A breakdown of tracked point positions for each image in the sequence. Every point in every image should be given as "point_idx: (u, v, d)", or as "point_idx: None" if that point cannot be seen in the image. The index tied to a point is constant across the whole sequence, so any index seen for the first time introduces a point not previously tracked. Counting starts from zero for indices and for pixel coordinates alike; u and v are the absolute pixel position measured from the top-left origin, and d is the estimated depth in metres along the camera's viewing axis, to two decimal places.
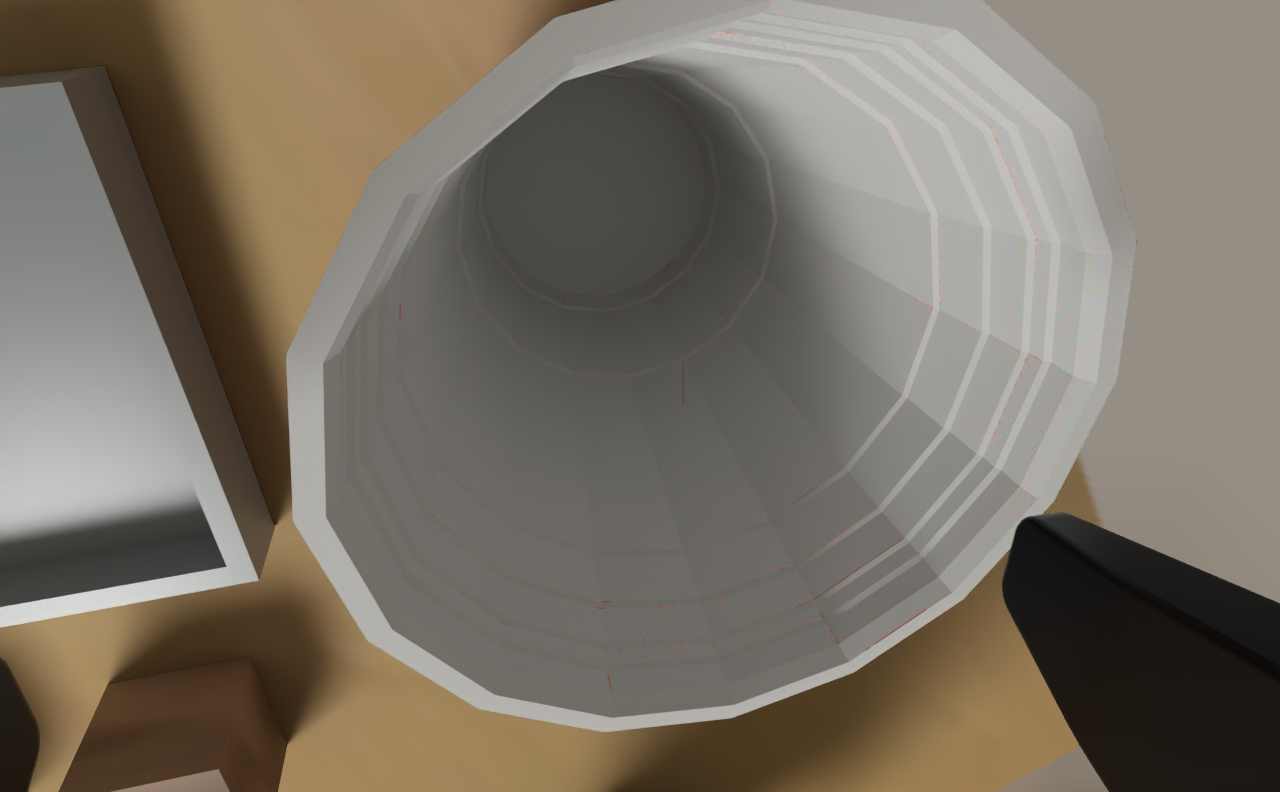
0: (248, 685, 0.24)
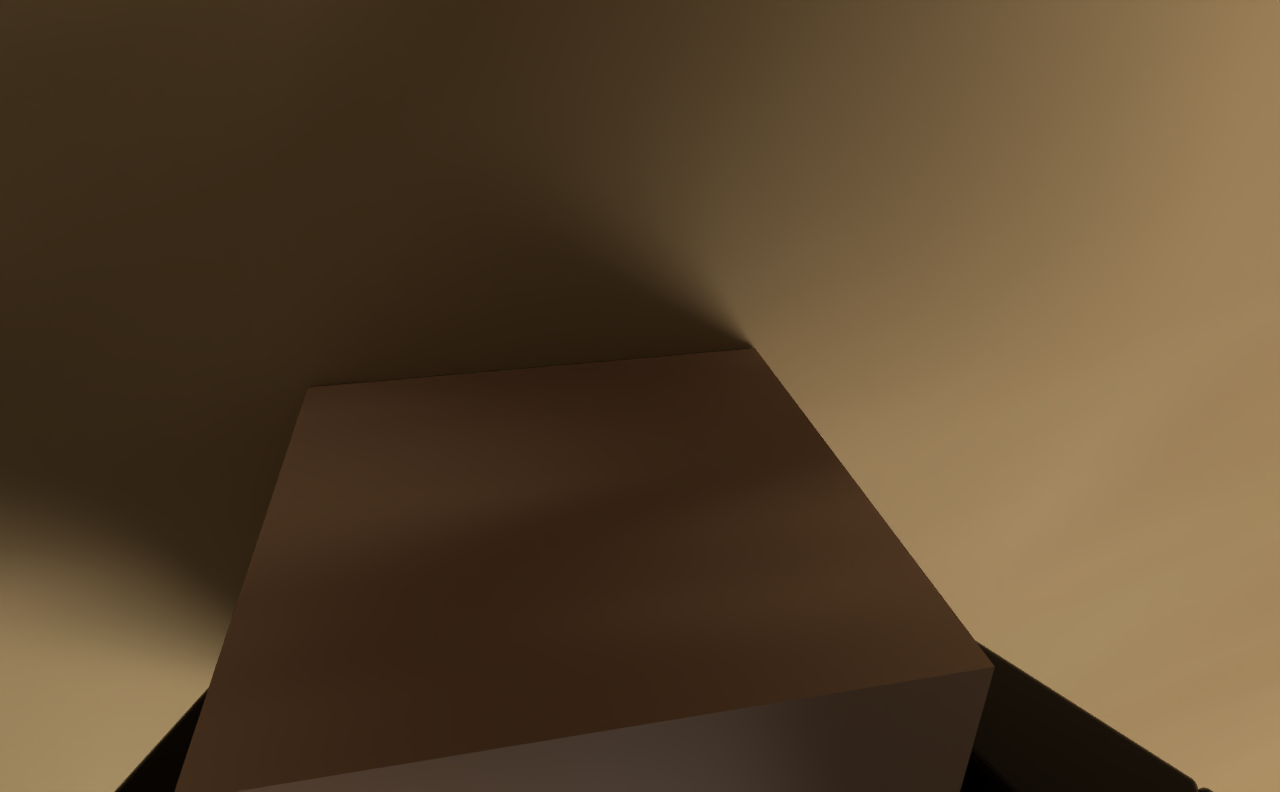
0: (343, 433, 0.06)
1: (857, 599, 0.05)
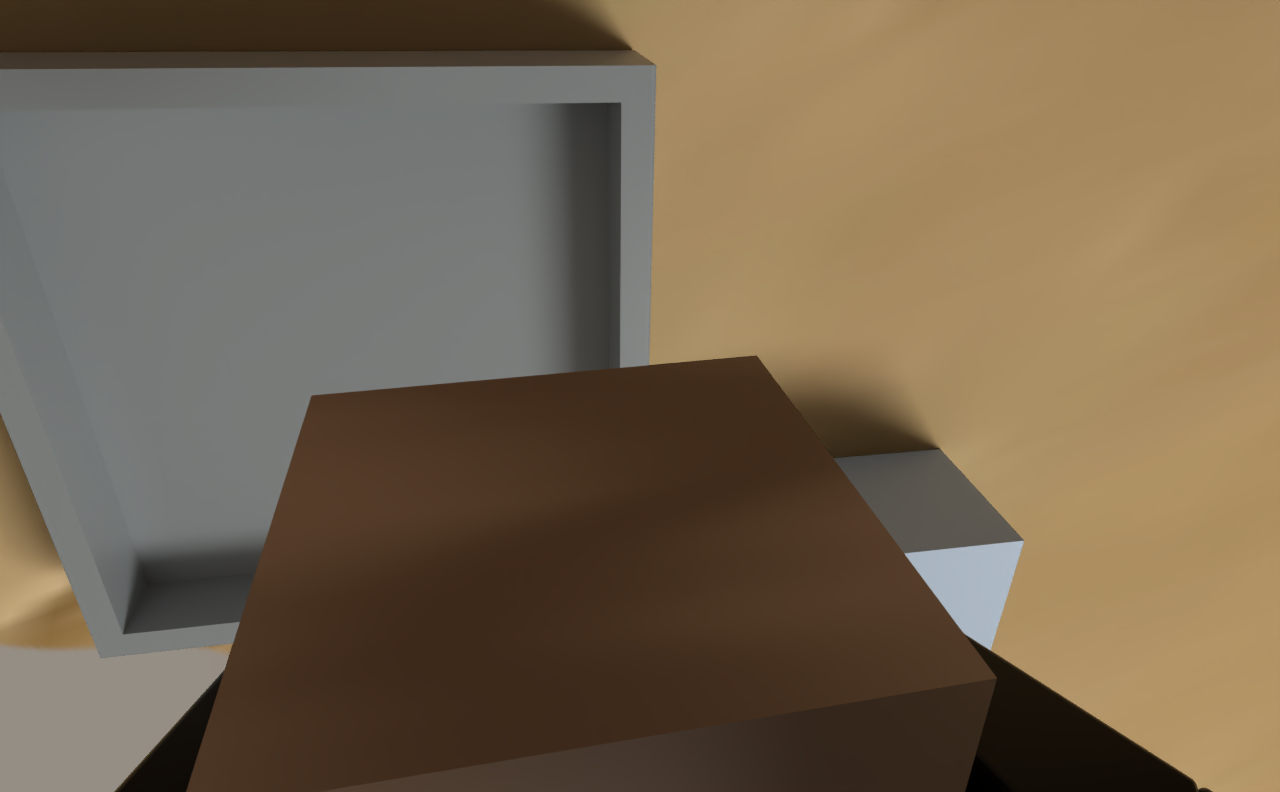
0: (347, 442, 0.06)
1: (860, 609, 0.05)
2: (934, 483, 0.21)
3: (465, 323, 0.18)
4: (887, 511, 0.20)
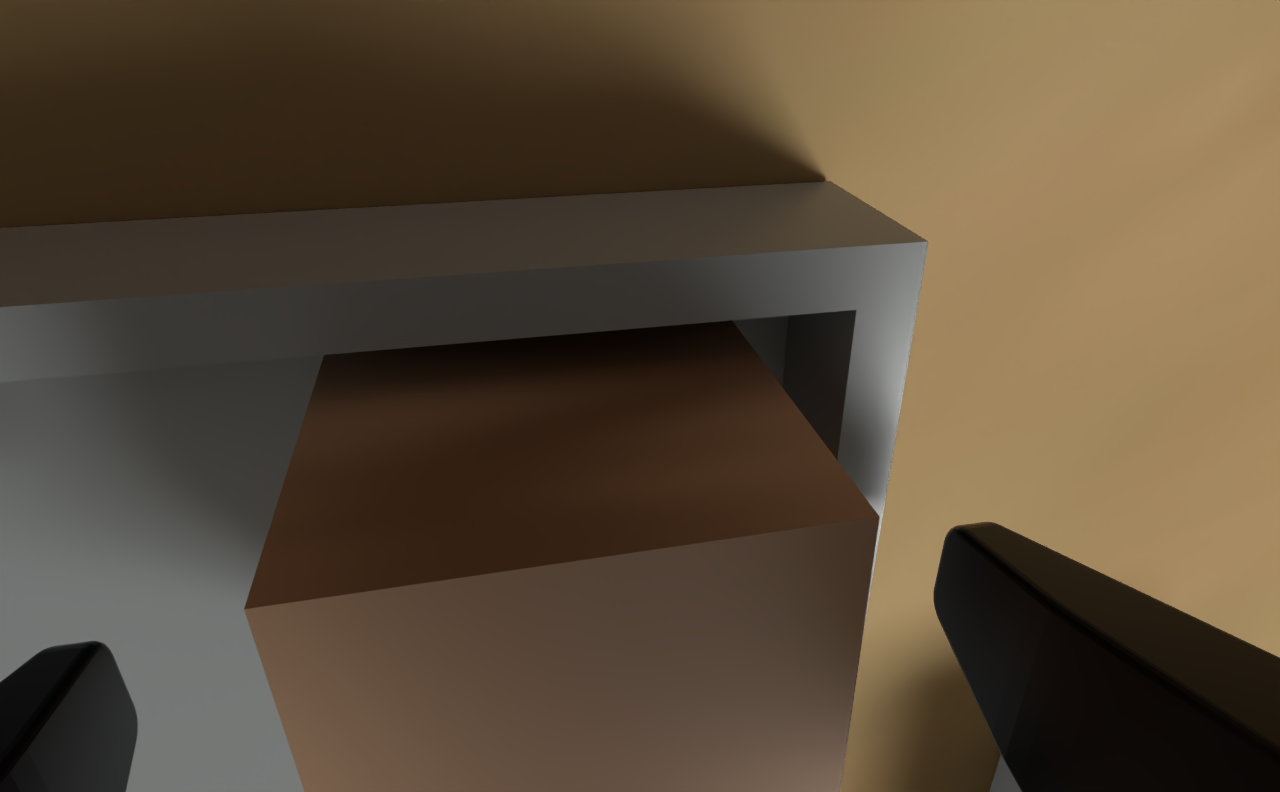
0: (361, 368, 0.08)
1: (778, 474, 0.06)
2: None
3: None
4: None
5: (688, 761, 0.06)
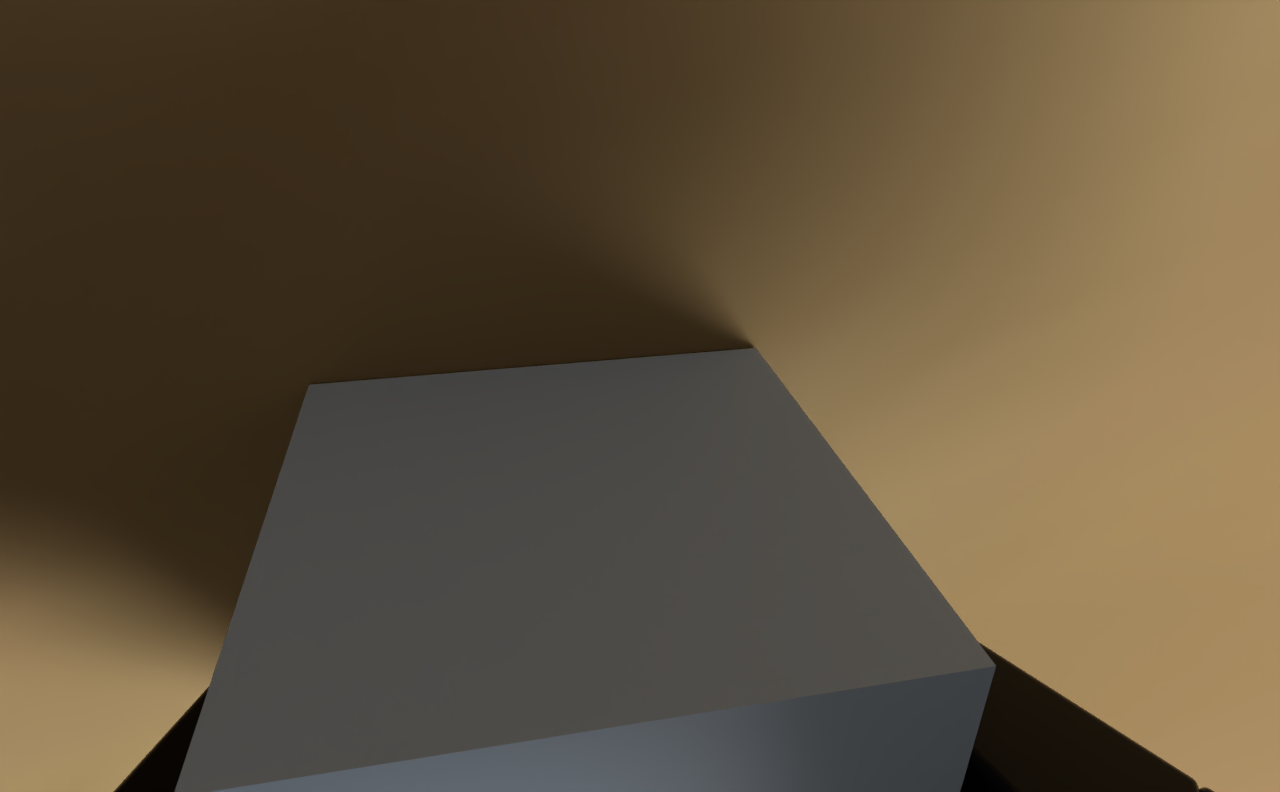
0: None
1: None
2: (700, 444, 0.06)
3: None
4: (476, 546, 0.05)
5: None
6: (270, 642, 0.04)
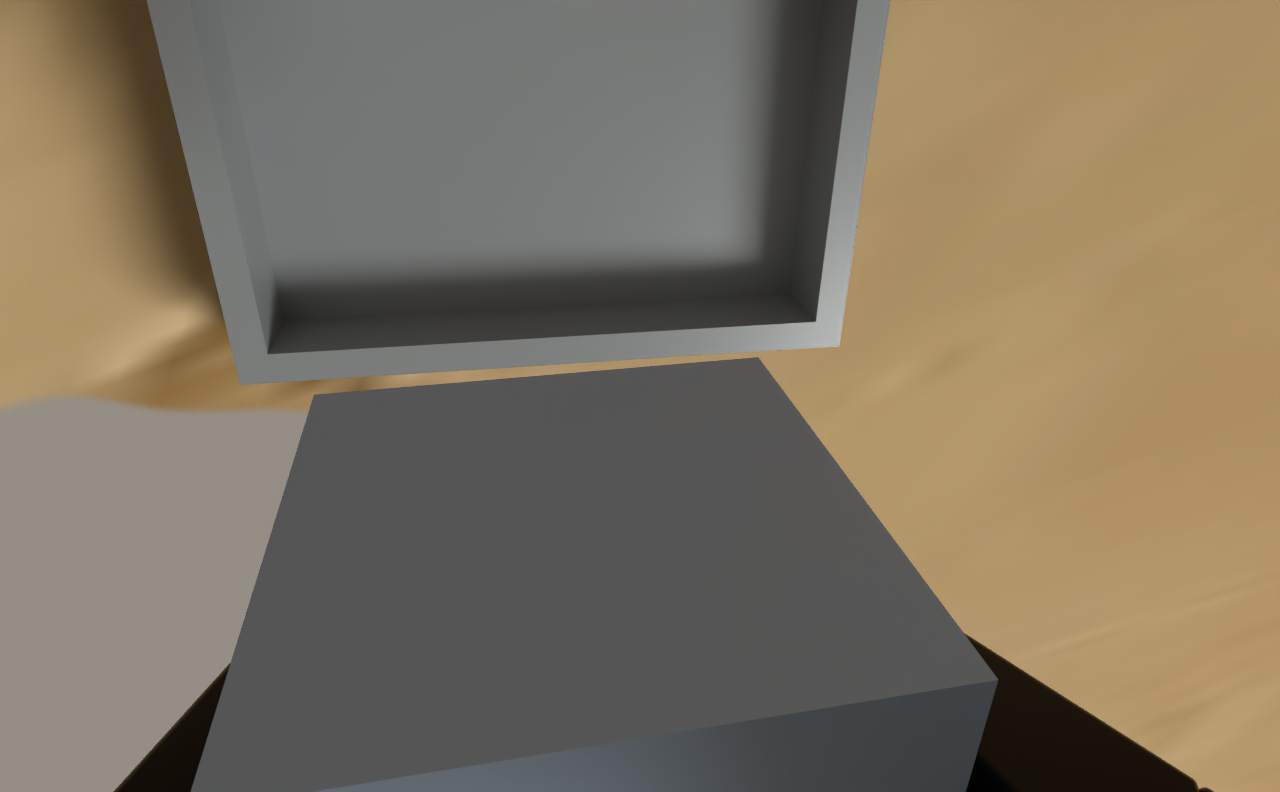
0: None
1: None
2: (705, 455, 0.06)
3: None
4: (481, 559, 0.05)
5: None
6: (280, 654, 0.05)
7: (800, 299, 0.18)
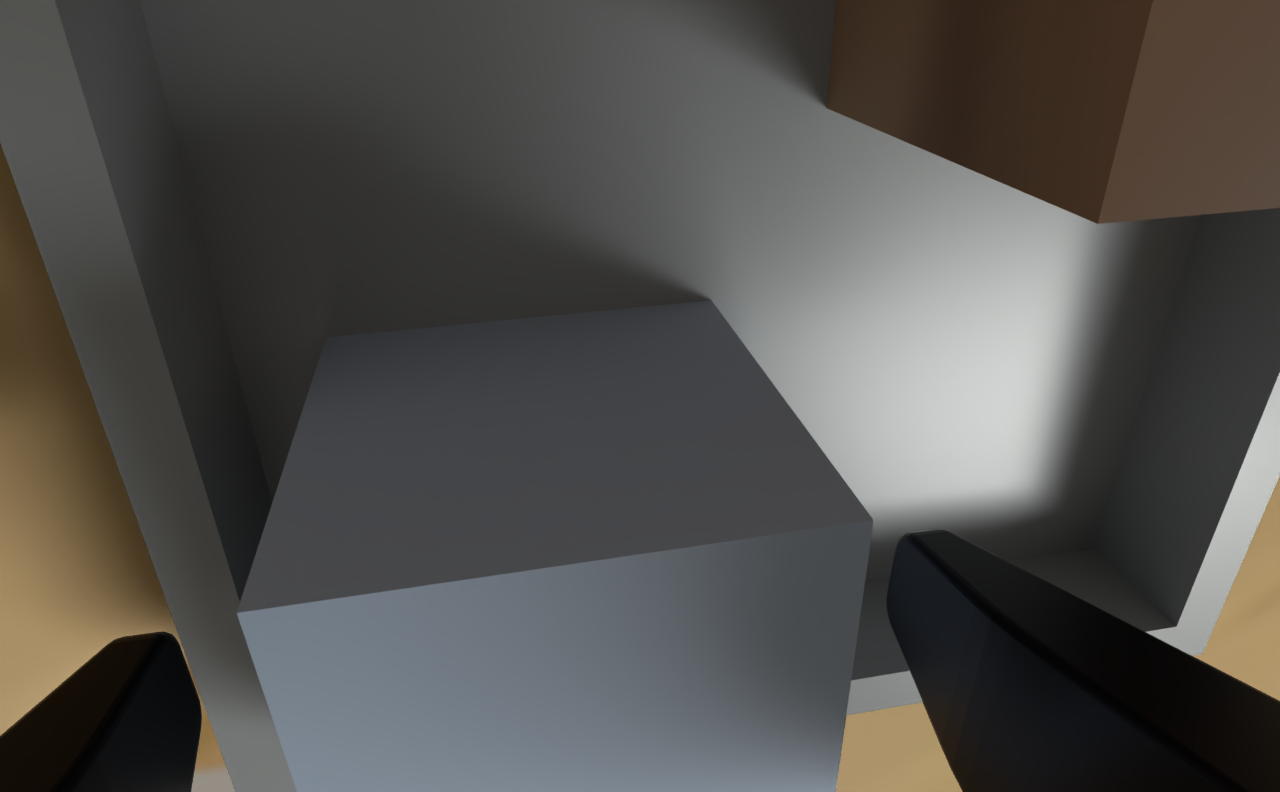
0: None
1: None
2: (657, 374, 0.07)
3: None
4: (467, 450, 0.06)
5: None
6: (304, 517, 0.06)
7: (1126, 571, 0.11)
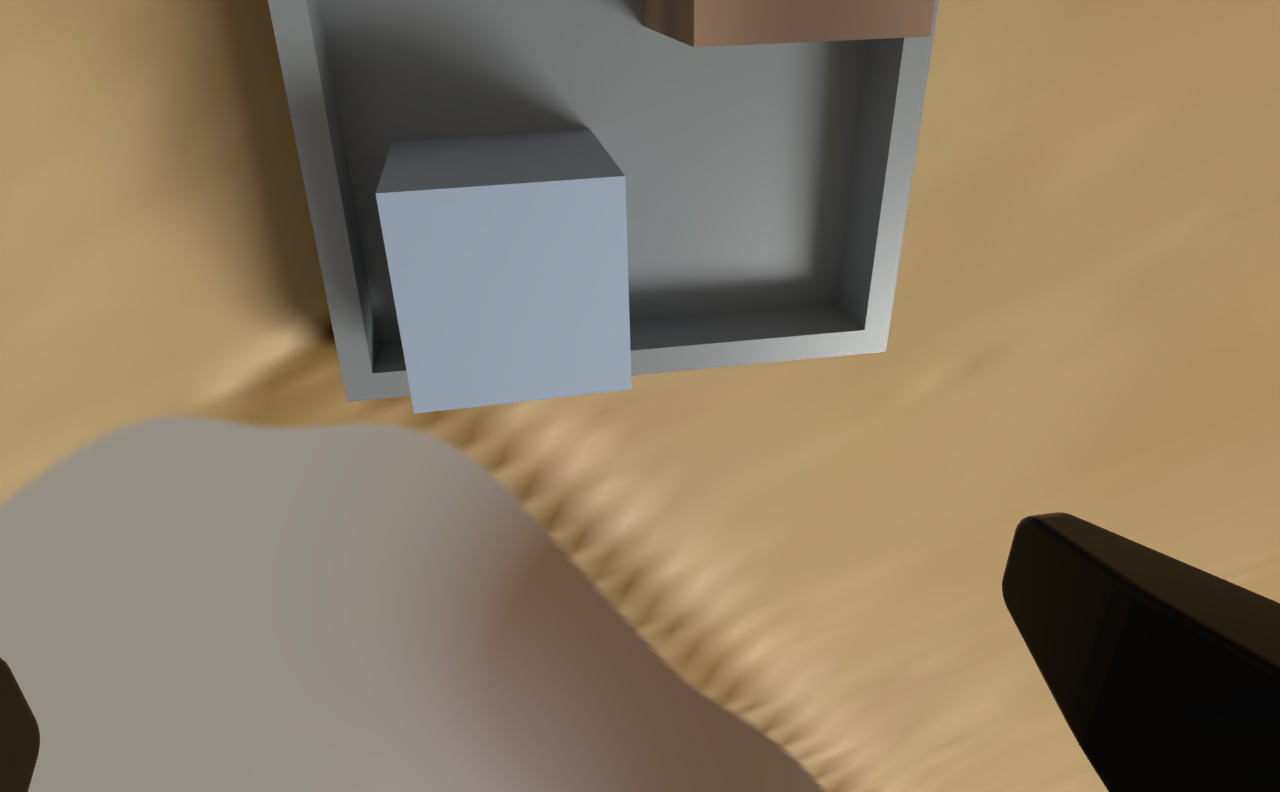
0: None
1: None
2: (553, 148, 0.16)
3: None
4: (462, 166, 0.15)
5: None
6: (395, 178, 0.14)
7: (847, 309, 0.20)
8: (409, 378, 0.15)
